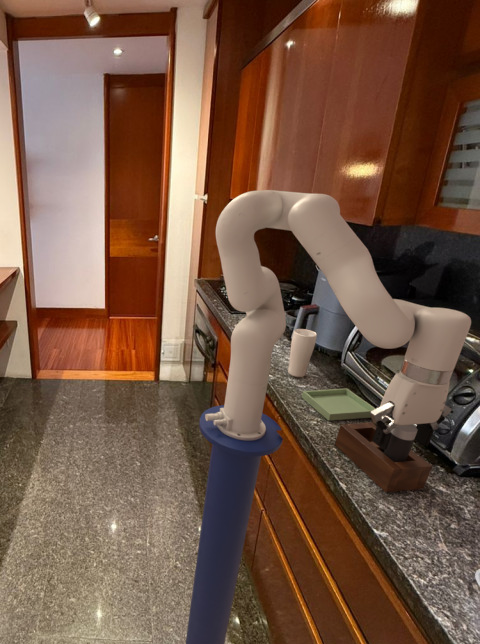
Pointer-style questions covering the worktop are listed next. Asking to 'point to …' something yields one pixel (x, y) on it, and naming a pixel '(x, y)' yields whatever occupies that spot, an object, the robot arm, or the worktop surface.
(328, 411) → the tray
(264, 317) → the robot arm
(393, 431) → the tool handle
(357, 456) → the holder
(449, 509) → the worktop surface
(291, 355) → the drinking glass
